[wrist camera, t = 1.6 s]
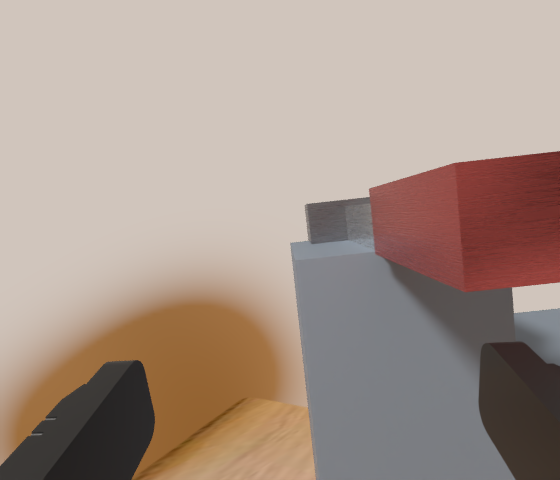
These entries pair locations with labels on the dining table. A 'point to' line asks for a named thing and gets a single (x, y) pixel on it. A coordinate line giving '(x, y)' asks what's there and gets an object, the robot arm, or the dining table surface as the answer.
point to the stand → (401, 365)
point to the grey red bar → (459, 222)
